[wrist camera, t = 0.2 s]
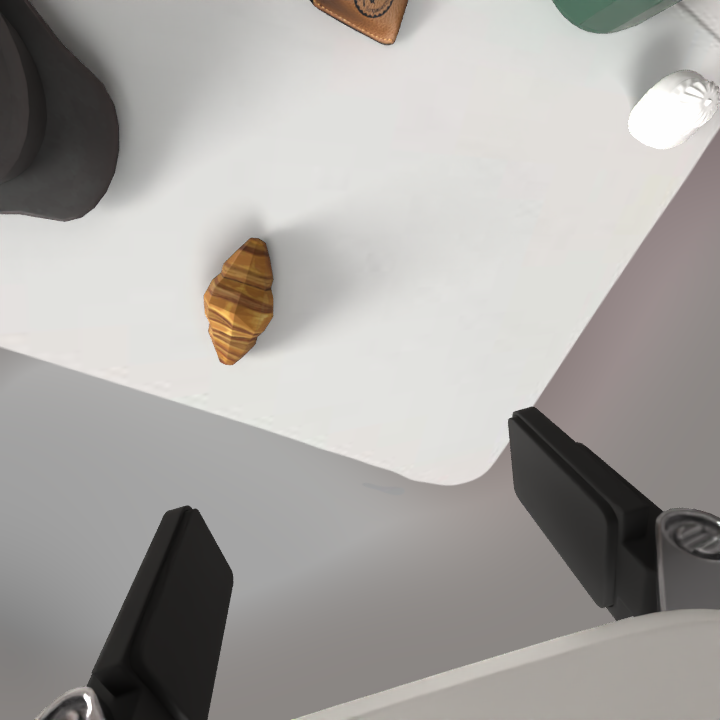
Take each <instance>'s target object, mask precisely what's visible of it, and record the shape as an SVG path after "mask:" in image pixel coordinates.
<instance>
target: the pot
mask: <svg viewBox="0 0 720 720" xmlns="http://www.w3.org/2000/svg"><path fill="white" fill-rule="evenodd" d="M680 1H682V0H553V2H554V4H555V5H556V7H557V8H558V10H559V11H560V12H561V13H562V15H563V16H564V17H565V18H566V19H568V20H569V21H570V22H571V23H572V24H574V25H575V26H577V27H579V28H580V29H583V30H586V31H588V32H593V33H604V34H608V33H614V32H618V31H621V30H624V29H627V28H629V27H633V26H636V25H638V24H640V23H642V22H644V21H645V20H647V19H649V18H651V17H653V16H655V15H656V14H658V13H660V12H662V11H664V10H665V9H667V8H669V7H671V6H673V5H674V4H676V3H678V2H680Z"/></svg>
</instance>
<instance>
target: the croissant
mask: <svg viewBox="0 0 720 720" xmlns="http://www.w3.org/2000/svg"><path fill="white" fill-rule="evenodd" d="M272 282H273V274H272V268H271V262H270V257H269V254H268V250H267V246H266V243H265V242H263V241H262V240H260V239H259V238H250V239H249V240H248V241H247V242H246V243H244V244H243V245H242V246H241V247H240V248H239V249H238V250H237V251H236V252H235V253H234V254H233V255H232V256H231V257H230V258H229V259H228V260H227V261H226V262H225V263H224V265H223V268H222V271H221V273H220V274H219V275H218V276H216V277H215V278H214V279H213V280H212V282H211V283H210V285H209V287H208V289H207V291H206V293H205V294H204V307H205V315H206V317H207V319H208V320H209V322H210V324H209V330H208V332H209V334H210V337H211V339H212V342H213V344H214V347H215V349H216V352H217V355H218V358H219V360H220V362H221V363H223V364H225V365H233V364H235V363H236V362H237V361H238V360H240V359H241V358H242V357H243V356H244V355H245V354H246V353H247V352H248V351H249V350H250V349H251V348H252V347H253V346H254V345H255V344H256V340H257V337H258V336H259V335H260V334H261V333H262V332H263V331H264V330H265V329H266V327H267V325H268V324H269V322H270V321H271V319H272V317H273V295H272V290H271V286H272Z"/></svg>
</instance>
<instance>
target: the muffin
mask: <svg viewBox="0 0 720 720" xmlns="http://www.w3.org/2000/svg"><path fill="white" fill-rule="evenodd" d="M718 89H719V87H718V86H715V83H714V82H713V81H712V82H709V81H708V80H705V79H704V77H703V76H702V75H700V74H699V73H697V72H694V71H690V70H681V71H677V72H674V73H672V74H670V75H668V76H666V77H665V78H663V79H662V80H660V81H659V82H658V83H657V84H656V85H655V86H654V87H652V88H651V89H650V90H649V91H648V92H647V93H646V94H645V95H644V96H643V97H642V99H641V100H640V101H639V102H638V103H637V104H636V106H635V107H634V108H633V110H632V111H631V114H630V115H629V119H628V120H629V121H628V127H629V129H628V130H630V133H631V135H632V136H633V137H635V138H636V139H638V140H639V141H640V142H642V143H643V144H646V145H647V146H651V147H654V148H657V149H668V148H672V147H675V146H677V145H679V144H681V143H683V142H685V141H686V140H688V139H689V138H690V137H691V136H692V135H693V134H694V133H695V132H696V131H697V130H698V129H699V127H700V126H702V125H703V124H704V123H705V122H707V121H708V120H710V119H711V117H712V116H713V114H714V113H715V112H716V110H717V108H718V106H717V105H718V104H719V102H720V99H719V96H720V93H719V92H718Z"/></svg>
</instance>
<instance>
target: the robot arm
mask: <svg viewBox="0 0 720 720" xmlns="http://www.w3.org/2000/svg"><path fill="white" fill-rule="evenodd" d="M508 427H509V438H510V449H511V460H512V471H513V481H514V489H515V492H516V495H517V497H518V498H519V500H520V501H521V503H522V504H523V505H524V507H525V508H526V510H527V511H528V512H529V513H530V515H531V516H532V518H533V519H534V520H535V522H536V523H537V524H538V526H539V527H540V529H541V530H542V531H543V533H544V534H545V535H546V537H547V538H548V539H549V541H550V542H551V543H552V545H553V546H554V547H555V549H556V550H557V552H558V553H559V554H560V555H561V557H562V558H563V560H564V561H565V562H566V564H567V565H568V566H569V568H570V569H571V571H572V572H573V573H574V575H575V576H576V577H577V579H578V580H579V581H580V583H581V584H582V585H583V587H584V588H585V590H586V591H587V592H588V594H589V595H590V596H591V597H592V599H593V600H594V602H595V603H596V604H597V605H598V606H599V607H601V608H604V607H606V608H607V609H608V610H609V612H610V613H611V614H612V616H613V617H614V618H615V620H616V621H615V622H612V623H609V624H605V625H601V626H598V627H594V628H590V629H587V630H584V631H580V632H576V633H573V634H569V635H566V636H562V637H558V638H555V639H552V640H549V641H545V642H542V643H539V644H535V645H532V646H529V647H525V648H522V649H519V650H516V651H512V652H509V653H505V654H502V655H499V656H496V657H492V658H489V659H486V660H482V661H479V662H476V663H473V664H469V665H466V666H463V667H459V668H456V669H453V670H450V671H446V672H443V673H440V674H437V675H433V676H430V677H427V678H424V679H420V680H417V681H414V682H411V683H407V684H404V685H401V686H398V687H395V688H391V689H388V690H385V691H382V692H379V693H375V694H372V695H369V696H366V697H362V698H359V699H356V700H353V701H350V702H346V703H343V704H340V705H337V706H333V707H330V708H327V709H324V710H321V711H318V712H314V713H312V714H308V715H305V716H302V717H299V718H296V719H292V720H720V518H719V517H717V516H715V515H712V514H710V513H707V512H703V511H700V510H696V509H689V508H674V509H669V510H667V511H664V512H663V511H662V510H661V509H660V508H658V507H657V506H656V505H655V504H654V503H653V502H651V501H650V500H649V499H648V498H647V497H645V496H644V495H643V494H642V493H641V492H640V491H638V490H637V489H636V488H635V487H634V486H632V485H631V484H630V483H629V482H627V480H625V479H624V478H623V477H622V476H621V475H619V474H618V473H617V472H616V471H615V470H613V469H612V468H611V467H610V466H608V464H606V463H605V462H604V461H603V460H602V459H600V458H599V457H598V456H597V455H596V454H594V453H593V452H592V451H591V450H590V449H589V448H587V447H586V446H585V445H583V444H582V443H578V442H575V441H574V440H573V439H571V438H570V437H569V436H568V435H567V434H566V433H564V432H563V431H562V430H561V429H560V428H559V427H557V426H556V425H555V424H554V423H552V421H550V420H549V419H548V418H547V417H546V416H545V415H544V414H542V413H541V412H540V411H539V410H538V409H537V408H535V407H529V408H525V409H522V410H518V411H515V412H513V417H512V418H509V419H508ZM232 587H233V573H232V570H231V569H230V567H229V565H228V563H227V561H226V559H225V557H224V556H223V554H222V552H221V550H220V549H219V547H218V545H217V543H216V541H215V539H214V538H213V536H212V534H211V532H210V530H209V529H208V527H207V525H206V523H205V521H204V519H203V518H202V516H201V514H200V512H199V511H198V510H197V509H192V508H191V507H190V506H183V507H180V508H176V509H173V510H169V511H167V512H166V513H165V514H164V516H163V518H162V521H161V523H160V525H159V527H158V529H157V532H156V534H155V536H154V538H153V540H152V542H151V544H150V547H149V549H148V551H147V553H146V555H145V558H144V560H143V562H142V564H141V566H140V568H139V571H138V573H137V575H136V577H135V579H134V582H133V584H132V586H131V588H130V590H129V593H128V595H127V597H126V599H125V601H124V603H123V605H122V608H121V610H120V612H119V614H118V616H117V619H116V621H115V623H114V625H113V627H112V629H111V632H110V634H109V636H108V638H107V640H106V643H105V645H104V647H103V649H102V651H101V653H100V656H99V658H98V660H97V662H96V664H95V666H94V669H93V671H92V675H91V678H90V680H89V682H88V684H87V687H85V686H83V687H78V688H74V689H72V690H70V691H68V692H66V693H64V694H62V695H61V696H59V697H58V698H57V699H55V700H54V701H53V702H51V703H50V704H49V705H48V706H47V707H46V708H45V709H44V710H43V711H42V712H41V713H40V714H39V715H38V716H37V717H36V718H35V719H34V720H207V719H208V713H209V708H210V703H211V698H212V692H213V687H214V681H215V677H216V671H217V666H218V661H219V655H220V650H221V645H222V640H223V635H224V629H225V624H226V619H227V614H228V608H229V603H230V598H231V593H232ZM631 616H634V617H632V618H628V617H631ZM624 618H628V619H624ZM621 619H623V620H621ZM618 620H619V621H618Z"/></svg>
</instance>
